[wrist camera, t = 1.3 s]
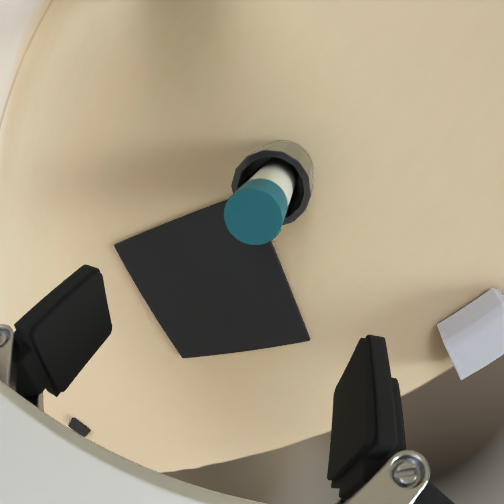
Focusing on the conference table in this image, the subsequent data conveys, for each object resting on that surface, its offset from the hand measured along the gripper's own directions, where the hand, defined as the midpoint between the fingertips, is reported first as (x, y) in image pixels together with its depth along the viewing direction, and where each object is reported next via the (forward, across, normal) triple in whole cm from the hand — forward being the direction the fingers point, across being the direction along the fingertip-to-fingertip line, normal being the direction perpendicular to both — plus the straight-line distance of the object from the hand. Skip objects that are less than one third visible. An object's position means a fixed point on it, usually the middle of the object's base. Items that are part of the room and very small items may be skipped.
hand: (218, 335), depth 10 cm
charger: (+22, -30, +10) cm, 39 cm away
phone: (+22, +55, +91) cm, 109 cm away
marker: (+22, +1, -1) cm, 22 cm away
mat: (+22, +7, +15) cm, 28 cm away
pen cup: (+22, +1, -1) cm, 22 cm away
